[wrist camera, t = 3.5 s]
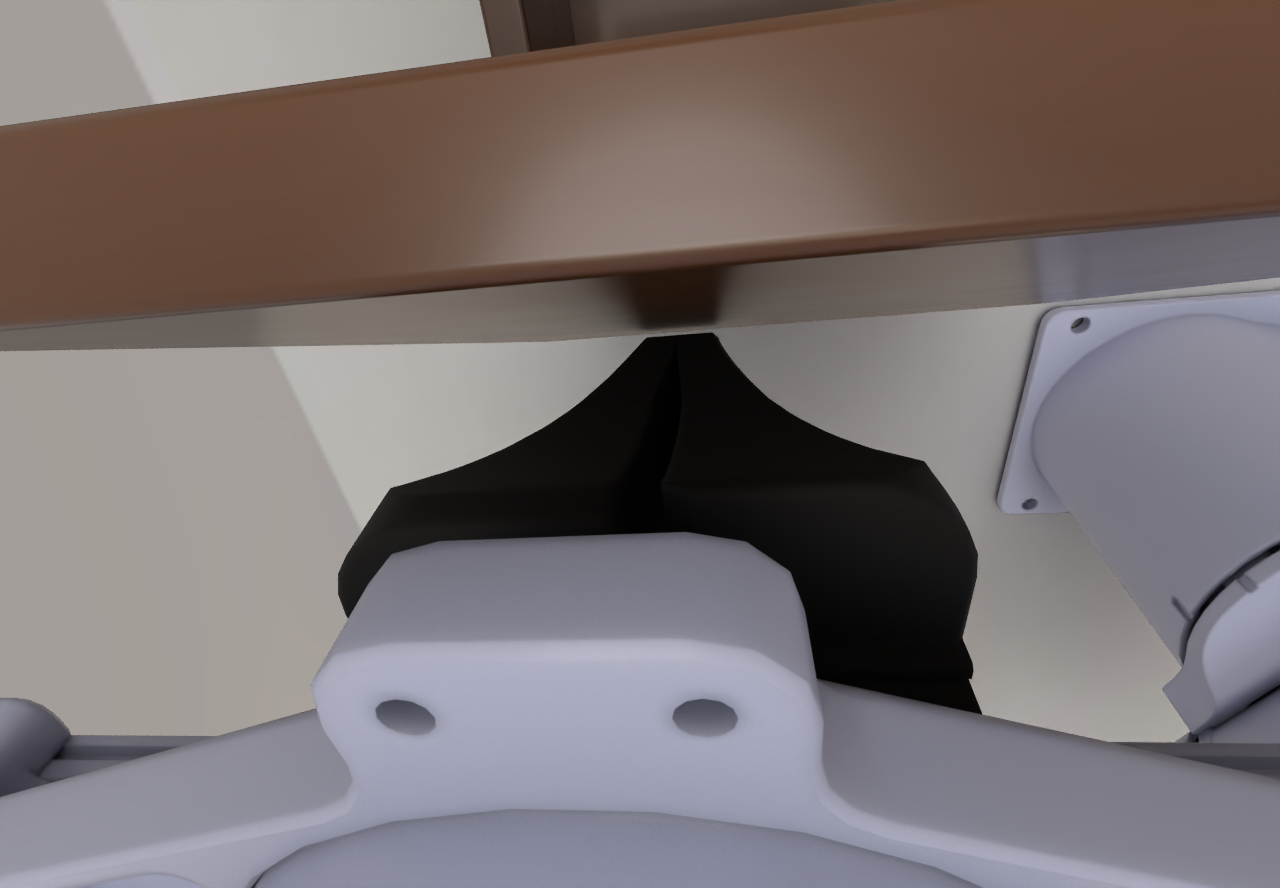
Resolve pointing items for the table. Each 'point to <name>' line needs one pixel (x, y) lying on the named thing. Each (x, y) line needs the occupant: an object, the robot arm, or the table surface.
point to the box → (623, 19)
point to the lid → (665, 183)
